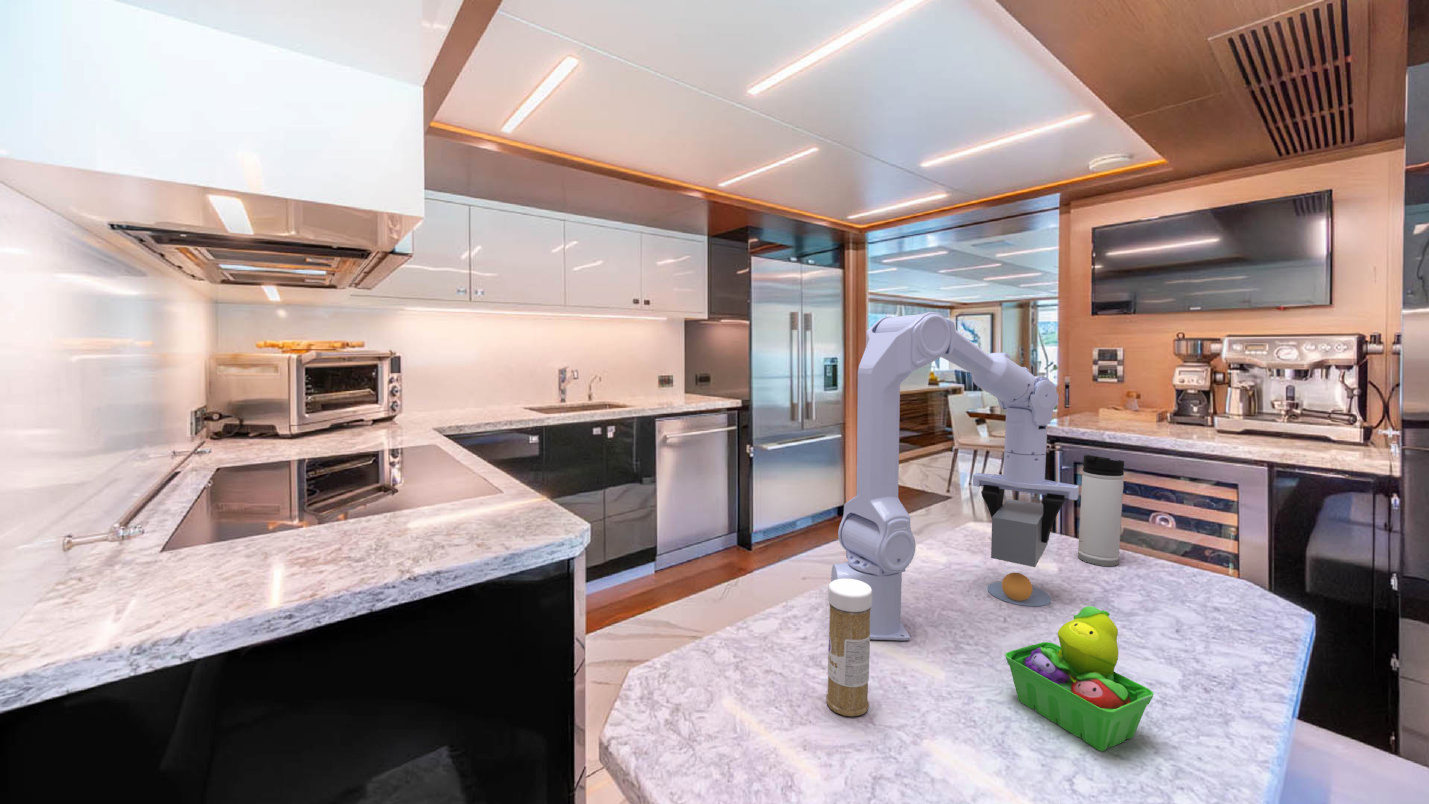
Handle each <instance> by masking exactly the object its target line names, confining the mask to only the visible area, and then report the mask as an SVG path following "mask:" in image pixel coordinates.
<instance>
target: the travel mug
mask: <svg viewBox="0 0 1429 804" xmlns="http://www.w3.org/2000/svg"><path fill="white" fill-rule="evenodd" d="M1082 466H1083V467H1082V476H1081V492H1080V493H1081V494H1080V509H1079V510H1080V513H1079V514H1080V515H1079V531H1078V550H1077V552H1078V553H1077V557H1078V559H1079V560H1081V561H1082V560H1083V562H1084V561H1085V562H1084V563H1087V562H1088V563H1087V564H1090V563H1092V564H1091V565H1094V564H1095V566H1099V565H1104V566H1103V567H1115V565H1116V566H1117V565H1119V563H1120V562H1119V561H1120V546H1121V545H1120V544H1121V532H1122V531H1121V528H1122V527H1121V526H1122V514H1123V499H1124V498H1123V496H1124V495H1123V494H1124V477H1125V474H1124V472H1125V471H1124V469H1125V468H1124V467H1125V461H1124V460H1121V459H1119V460H1114V459H1111V458H1109V457H1104V456H1103V457H1101V456H1096V455H1090V454H1085V455H1083V464H1082Z"/></svg>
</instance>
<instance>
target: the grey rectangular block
mask: <svg viewBox="0 0 1429 804" xmlns="http://www.w3.org/2000/svg"><path fill="white" fill-rule="evenodd" d="M1042 528H1043V503H1037V502H1030V501H1023V500H1018V499H1011V498H1007V499H1006V500H1005V502H1003V505H1002V506H1001V507H1000V509H999V510H998V511H997V512H996V513H995V514H994V515H993V517H992V518H991V545H990V548H991V550H990V551H991V552H990V558H991V559H994V560H999V561H1004V562H1007V563H1008V562H1009V563H1011V564H1019V565H1022V566H1027V567H1032V568H1036V566H1037V565H1038V562H1039V561H1040V559H1041V558H1042V555H1043V554H1044V552H1045V550H1046V548H1047V546H1048V544H1049V541H1048V542H1047V543H1043V542H1042V541H1041V536H1042Z"/></svg>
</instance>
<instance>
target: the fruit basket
mask: <svg viewBox="0 0 1429 804" xmlns="http://www.w3.org/2000/svg"><path fill="white" fill-rule="evenodd" d="M1110 615H1111V614H1110V612H1108V611H1107V610H1104V609H1102V610H1101V609H1099V608H1098V607H1096V606H1092V605H1087V606H1085V607H1083V608H1082V609H1080V611H1079V612H1078V613H1077V614H1074V615H1073V619H1072V620H1069V621H1067V622H1065V623H1064V624H1063V625H1061V627H1059V629H1058V630H1057V637H1058V641H1059V644H1055V643H1053V642H1049V641H1042V642H1039V643H1035V644H1031V645H1027V646H1023V647H1020V648H1017V649H1012V650H1010V651H1008V652H1005V654H1004V657H1005V658H1006V662H1007V664H1008V666H1009V668H1010V672H1011V676H1012V680H1013V685H1014V687H1015V692H1016V696H1017V700H1018V702H1020V703H1021V704H1023V705H1025V706H1026V707H1028V708H1030V709H1033V710H1034V711H1036V712H1037V713H1038V714H1039V715H1041V716H1043V717H1044V718H1046V719H1047V720H1049V721H1051V722H1053V723H1055V724H1057V725H1059V726H1060V727H1061V728H1063V730H1066V731H1067V732H1068V733H1071V734H1072V735H1073V736H1075V737H1078V738H1080V739H1082V740H1083V741H1084V742H1085V743H1087V744H1088V745H1089V746H1091V747H1093V748H1095V749H1096V750H1097V751H1099V752H1104V751H1106V749H1107V748H1112V747H1115V746H1117V745H1119V744H1121V743H1123V742H1125V740H1129V739H1133V737H1134V736H1135V734H1136V731H1137V729H1138V727H1139V724H1140V722H1141V719H1142V717H1143V714H1144V713H1145V710H1146V708H1147V705H1150V703H1151V701H1152V698H1153V697H1154V691H1152V690H1151V689H1150V688H1149V687H1147V686H1144V685H1142V684H1140V683H1137V681H1136V682H1135V681H1134V680H1132V679H1130V678H1128V677H1127V676H1124V675H1122V674H1120V673H1118V672H1116V671H1115V669H1116V666H1117V663H1118V660H1119V647H1118V635H1119V629H1118V627H1117V626H1116V624H1115V623H1114V621H1113V620H1112V619H1111V618H1110V617H1109V616H1110Z"/></svg>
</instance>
